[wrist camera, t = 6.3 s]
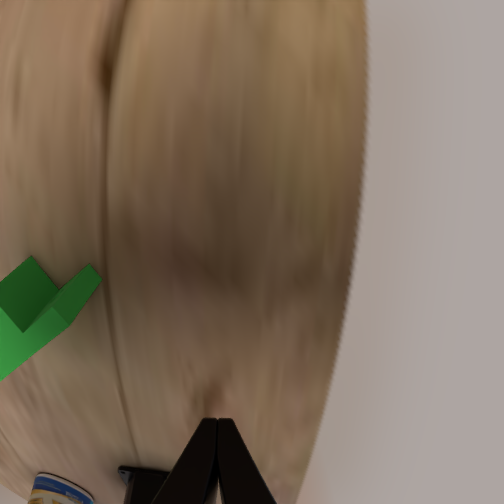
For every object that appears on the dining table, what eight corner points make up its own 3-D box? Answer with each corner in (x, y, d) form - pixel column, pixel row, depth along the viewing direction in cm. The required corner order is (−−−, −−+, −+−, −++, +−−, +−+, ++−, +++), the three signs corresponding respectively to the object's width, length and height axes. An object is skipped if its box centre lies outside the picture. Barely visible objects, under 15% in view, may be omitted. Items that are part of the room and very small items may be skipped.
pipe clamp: (61, 223, 15) (14, 258, 11) (104, 277, 16) (70, 325, 12) (-17, 314, 17) (-50, 350, 12) (16, 352, 18) (-12, 392, 14)
